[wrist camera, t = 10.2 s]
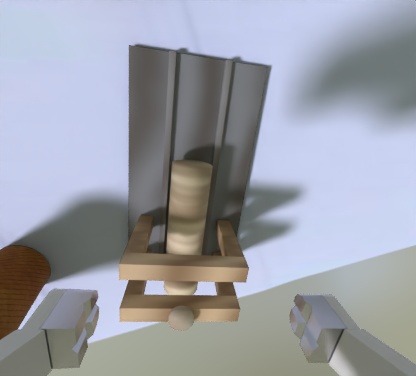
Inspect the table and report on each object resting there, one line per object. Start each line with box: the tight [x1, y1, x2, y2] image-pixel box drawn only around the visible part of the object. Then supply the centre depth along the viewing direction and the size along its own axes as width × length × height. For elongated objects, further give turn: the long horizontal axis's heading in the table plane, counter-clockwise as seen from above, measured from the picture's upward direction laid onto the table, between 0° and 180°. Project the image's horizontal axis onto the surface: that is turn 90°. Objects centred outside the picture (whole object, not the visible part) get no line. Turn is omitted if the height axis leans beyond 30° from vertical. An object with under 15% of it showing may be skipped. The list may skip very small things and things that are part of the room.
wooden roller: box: [164, 159, 213, 295], centre depth 24 cm, size 15×4×4 cm, turn 173°
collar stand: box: [119, 45, 268, 331], centre depth 20 cm, size 13×25×10 cm, turn 173°
